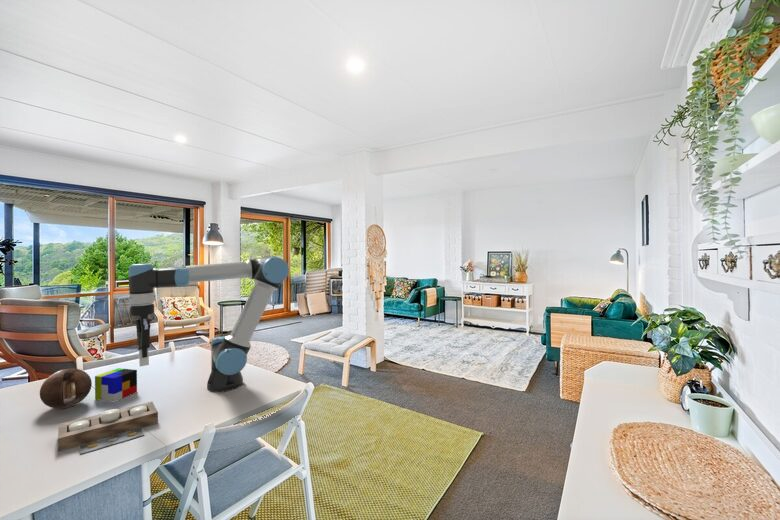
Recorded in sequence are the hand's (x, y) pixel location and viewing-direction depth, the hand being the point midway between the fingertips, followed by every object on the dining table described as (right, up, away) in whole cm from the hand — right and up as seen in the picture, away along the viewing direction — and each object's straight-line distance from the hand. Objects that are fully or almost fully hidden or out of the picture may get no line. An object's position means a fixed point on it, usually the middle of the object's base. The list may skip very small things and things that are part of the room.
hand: (144, 365), depth 129 cm
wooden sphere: (-35, -19, +6) cm, 40 cm away
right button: (+2, -18, -6) cm, 19 cm away
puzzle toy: (-24, -19, +16) cm, 34 cm away
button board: (-1, -19, -14) cm, 24 cm away
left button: (-9, -18, -17) cm, 26 cm away
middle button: (-4, -17, -11) cm, 20 cm away
